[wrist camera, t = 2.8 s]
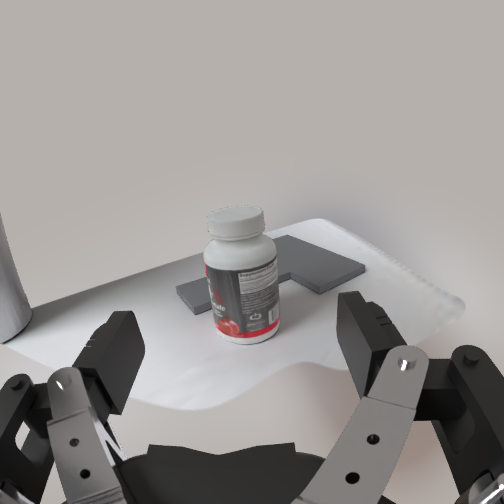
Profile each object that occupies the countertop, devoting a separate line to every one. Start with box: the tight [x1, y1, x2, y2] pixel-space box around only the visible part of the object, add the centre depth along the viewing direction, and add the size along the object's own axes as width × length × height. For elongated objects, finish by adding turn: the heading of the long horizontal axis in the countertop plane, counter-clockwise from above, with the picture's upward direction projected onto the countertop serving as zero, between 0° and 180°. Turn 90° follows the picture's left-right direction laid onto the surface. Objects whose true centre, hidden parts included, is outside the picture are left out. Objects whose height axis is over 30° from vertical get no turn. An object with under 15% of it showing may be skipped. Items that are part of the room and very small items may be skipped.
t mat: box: [176, 235, 365, 315], centre depth 33 cm, size 18×14×1 cm
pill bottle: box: [203, 206, 280, 344], centre depth 23 cm, size 5×5×10 cm
